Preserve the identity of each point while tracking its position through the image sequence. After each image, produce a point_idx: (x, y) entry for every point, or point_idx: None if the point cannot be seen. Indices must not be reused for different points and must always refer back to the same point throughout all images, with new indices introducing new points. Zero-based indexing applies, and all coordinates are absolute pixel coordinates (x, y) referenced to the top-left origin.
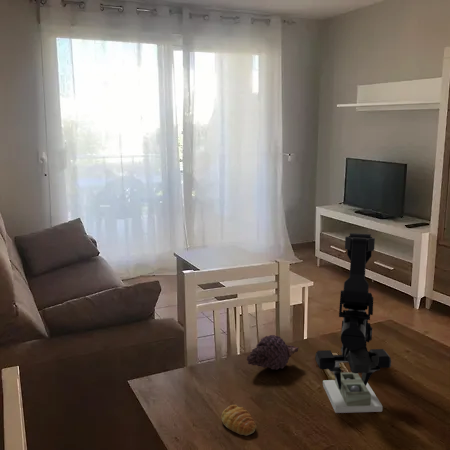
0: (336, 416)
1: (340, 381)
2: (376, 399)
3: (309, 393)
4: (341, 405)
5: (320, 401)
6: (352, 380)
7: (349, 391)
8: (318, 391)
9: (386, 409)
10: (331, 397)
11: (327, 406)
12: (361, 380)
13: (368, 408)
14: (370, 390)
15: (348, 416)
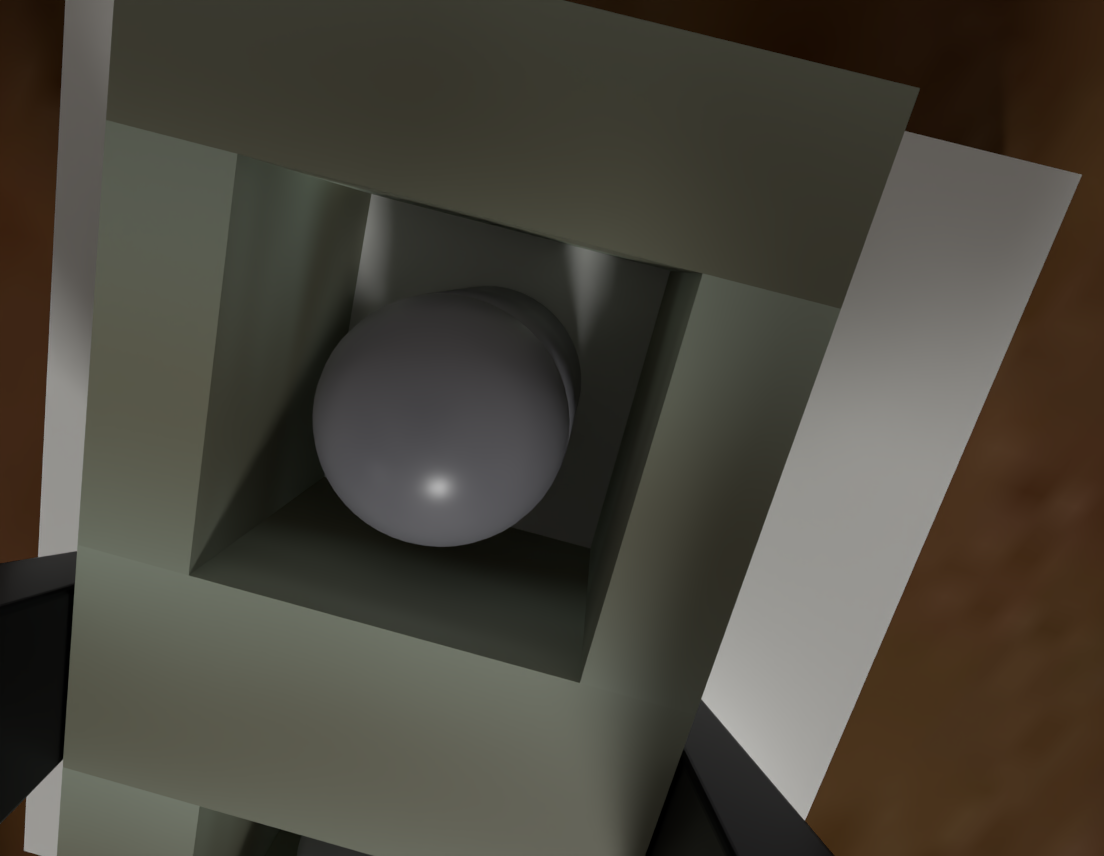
0: (1063, 73)
1: (732, 816)
2: (90, 215)
3: (1029, 851)
4: (901, 220)
5: (1013, 606)
6: (308, 790)
7: (704, 305)
8: (857, 849)
9: (57, 29)
10: (907, 557)
11: (1000, 435)
12: (84, 714)
13: None
14: (76, 535)
15: (840, 4)
